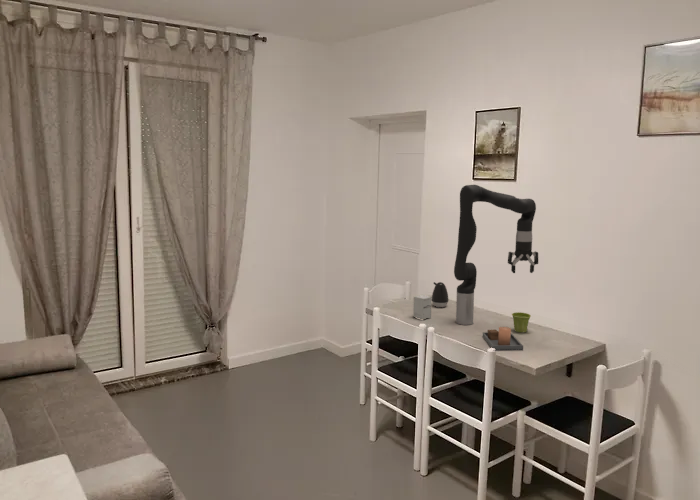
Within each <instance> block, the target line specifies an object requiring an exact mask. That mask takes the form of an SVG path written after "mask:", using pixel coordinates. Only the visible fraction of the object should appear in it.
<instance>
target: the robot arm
mask: <svg viewBox="0 0 700 500" xmlns="http://www.w3.org/2000/svg"><path fill="white" fill-rule="evenodd" d="M476 202H479V203H480V202H482V203H483V202H485V203H488V204H491V205H493V206H495V207H498V208H500V209H505V210H509V211H512V212H514V213H517V214H519V215H520V214H521V216H520V218H518V220H517V222H516V234H515V248H514V249H515V251H513V252H512V251H508V253H507V254H508V255H507V264H508V265H510V267H511V269H510V270H511V272H512V273H513V274H516V265H517V264H518V262H519V261H520V262H527V261H528V263H529V264H530V265H529V273H530V274H533V273H534V272H535V265H538V264H539V252H538V251H536V250H535V251H532V249H533V221H534V218H535V214H536V212H537V211H536V210H537V204H536V202H535V200H534V199H532V198H517V197H516V196H514V195H510V194H506V193H502V192H496V191H493V190H491V189H487V188H485V187H482V186H480V185H478V184H467V185H464V186H462V187H461V190H460V192H459V223H458V224H459V225H458V233H457V234H458V235H457V236H458V237H457V249H456V256H455V261H454V268H453V274H454V278H455V279H456V280H457V281H461V282H462V283H460V284H459V285H457V287H456V306H455V307H456V310H455V323H456V324H458V325H462V326H463V325H464V326H469V325H472V324H474V309H475V308H474V305H475V290H476V286H477V285H476V284H477V272H478V271H477V267H476V264H474V263H473V262H467V258H468V255H469V253H470V252H471V250H472V248H473V246H474V244H475V243H476V238H477V229H478V227H477V224H476V220H475V219H474V216H473V215H474V214H473V207H474V206H473V205H474V203H476ZM514 256H515V257H514ZM513 257H514V259H513ZM531 257H533V259H532V258H531Z"/></svg>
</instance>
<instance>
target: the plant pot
mask: <svg viewBox="0 0 700 500" xmlns="http://www.w3.org/2000/svg"><path fill="white" fill-rule="evenodd" d="M511 315H512V319H513V321H512V322H513V330H514V331H515V332H516V333H519V334H520V333H526V332H527V331H528V327H529V321H530V318H531V317H532V316H531V314H529V313H527V312H520V311H519V312H518V311H517V312H513V313H511Z"/></svg>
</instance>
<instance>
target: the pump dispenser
mask: <svg viewBox="0 0 700 500" xmlns="http://www.w3.org/2000/svg"><path fill="white" fill-rule="evenodd" d="M433 285H434V288H433V291H432V295H431V297H432V298H431V304H432V305H433V306H434V307H435V306H436V308H439V307H442V308H445V307H446V306H447V305H448V303H449V293H448V290H447V286H446V284H445V283H444V282H441V281H439V282H433Z"/></svg>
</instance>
